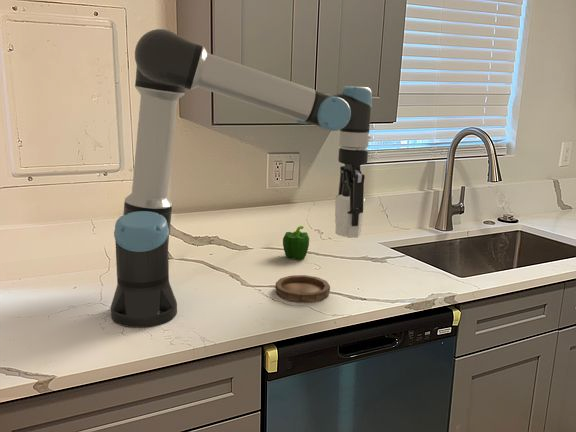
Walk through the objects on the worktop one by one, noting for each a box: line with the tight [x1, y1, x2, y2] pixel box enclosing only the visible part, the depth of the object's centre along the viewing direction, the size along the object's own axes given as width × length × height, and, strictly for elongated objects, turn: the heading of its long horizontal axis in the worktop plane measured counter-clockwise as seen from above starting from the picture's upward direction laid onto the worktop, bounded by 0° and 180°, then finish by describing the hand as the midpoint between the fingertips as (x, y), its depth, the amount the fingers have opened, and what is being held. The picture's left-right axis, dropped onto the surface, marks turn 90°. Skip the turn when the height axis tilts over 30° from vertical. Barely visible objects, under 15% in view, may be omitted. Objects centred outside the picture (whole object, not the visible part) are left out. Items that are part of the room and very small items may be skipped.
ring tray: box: [275, 274, 331, 304], centre depth 149 cm, size 14×14×2 cm
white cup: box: [334, 194, 366, 238], centre depth 150 cm, size 8×8×10 cm
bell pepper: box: [282, 225, 310, 261], centre depth 175 cm, size 8×8×10 cm
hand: (348, 232), depth 152 cm, fingers closed on white cup, 8 cm apart
